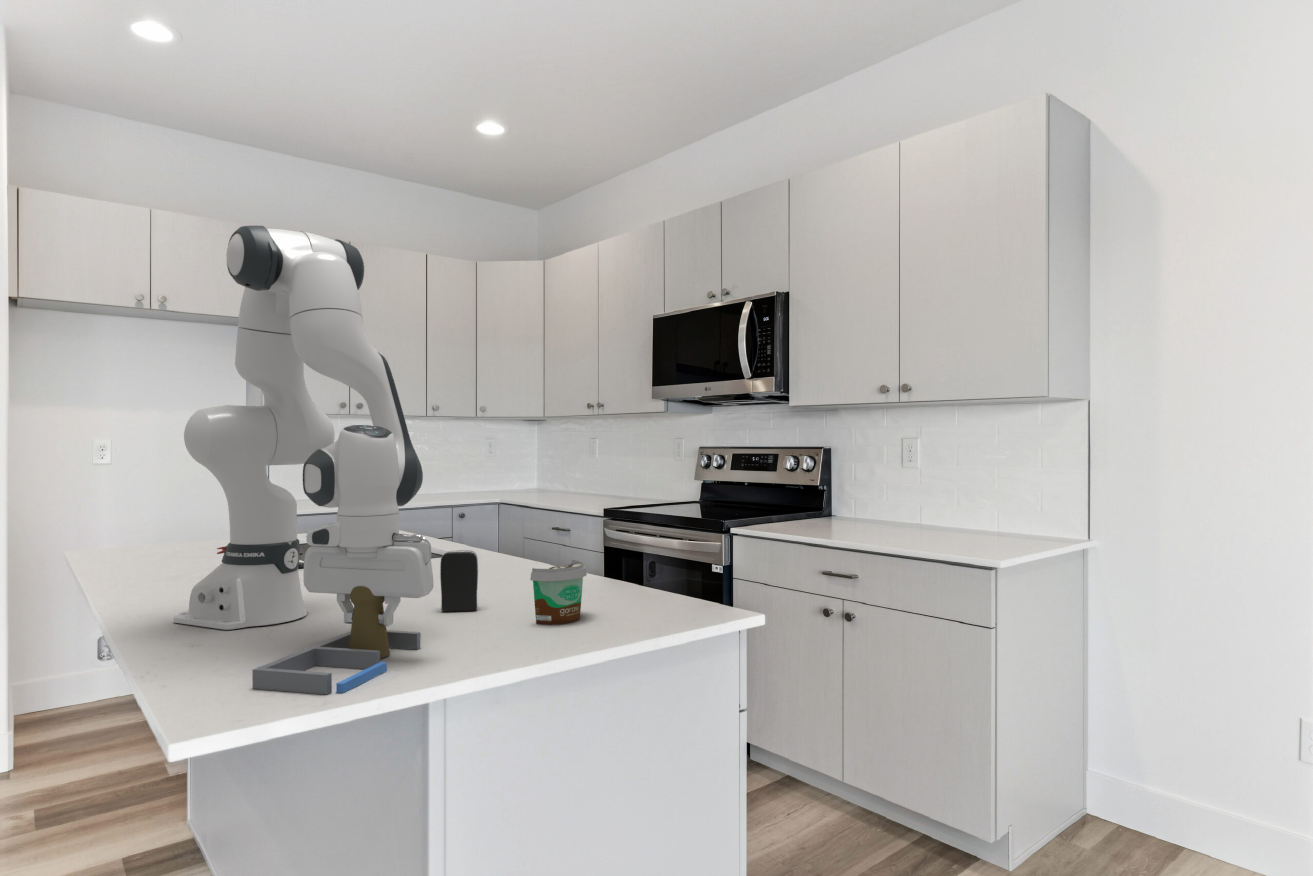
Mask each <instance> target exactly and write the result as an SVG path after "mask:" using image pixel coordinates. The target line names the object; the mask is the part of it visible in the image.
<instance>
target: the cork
mask: <svg viewBox="0 0 1313 876" xmlns="http://www.w3.org/2000/svg"><path fill="white" fill-rule="evenodd" d="M350 600H351V603H352V605H353V607H354V611H353V619H352V624H351V629H350V631H351V634H350V642H349V649H362V650H378V651H380V659H384V658H386V657H388V656H389V655H390V654H391V652H390V648H389V643H388V636H387V626H380V625H379V624H378V622H379V619H378V615H379V614H381V613H384V612H385V609H384V603H385V596H374V595H373V594H372V592H371V590H370V589H369V588H367V587H364V586H357V587H354V588H353V589H352V591H351V593H350Z"/></svg>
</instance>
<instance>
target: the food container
mask: <svg viewBox="0 0 1313 876" xmlns="http://www.w3.org/2000/svg"><path fill="white" fill-rule="evenodd" d="M587 575H588V573H587V569H586V566H585V563H584V561H581V560H577V559H571V563H570V564H568V565H564V566H559V565H557V566H556V565H555V566H551V567H549V568H534V567H532V568H531V573H530V579H529V580H530V581H532V589H533V600H534V612H535V624H536V625H540V626H541V625H544V626H546V625H547V626H560V625H568V624H574V623H575V622H578V621H580V619H581V612H582V611H581V609H582V598H583V597H582V596H583V584H584V583H583V581H584V577H586V576H587Z"/></svg>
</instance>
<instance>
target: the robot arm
mask: <svg viewBox="0 0 1313 876" xmlns="http://www.w3.org/2000/svg"><path fill="white" fill-rule="evenodd" d="M360 252H361V251H359V249H358V248H357V247H356V246H354V245H353V244H350V243H349V242H346V241H343V240H341V239H338V238H337V239H332V238H329V237H326V236H323V235H320V234H315V233H312V232H307V231H302V230H301V231H296V230H290V229H282V228H272V227H271V228H269V227H268V228H267V227H265V226H264V225H242V226H240V227H238V228H237V229H236V230H235V231H234V232H233V233H232V234H231V235H230V237H229V240H228V244H227V248H226V266H227V271H228V274H229V275H230V276H231V278H232V279H233V280H234V282H235V283H237V285H241V286H242V287H244V289H243V293H242V298H241V302H240V306H239V314H238V321H237V331H236V332H237V335H236V342H235V343H236V344H235V345H236V348H235V358H234V359H235V360H234V366H235V369H236V371H237V374H239V376H240V377H241V378H242V379H243V380H245V381H246V382H247V383H249V384H251V385H253V386H255V387H256V388H258V389H260V390H261V391H262V395H263V398H264V400H263V401H264V402H263V405H236V404H235V405H234V404H233V405H231V404H229V405H227V404H225V405H220V406H219V405H218V406H212V407H206V408H201V409H197V410H196V411H195V412H194V413H193V414H192V415H191V416H190V417H189V419H188V420H187V423H186V425H185V427H184V432H183V441H184V446H185V447H186V450H187V452H188V454H189V455H190V456H191V458H192V459H194V460H195V461H196V462H197V463H198V464H200V465H201V466H203V467H204V468H205V469H207V470H208V471H209V472H210V473H211V474H212V475H213V476H214V477H215V478H216V480H217V481H218V483H219V484H220V486H221V488H222V490H223V493H224V495H225V497H226V502H227V507H228V508H227V510H228V518H229V519H228V520H229V521H228V522H229V541H230V542H228V543H227V545H226V546H220V547H217V548H216V550H220V551H217V552H216V554H217V555H223V556H222V559H221V563H220V564H219V565H218V566H217V567H215V568H214V570H212V571H211V572H210V573H209V574H207V575H206V576H205V577H204V578H203V579H200V581H198V582H197V583H196V584H195V585H194V586H193V588H192V589H191V592H190V595H189V601H188V610H186V611H184V612H180V613H178V614H177V615H175V616H174V617H173V623H176V624H182V625H188V626H189V625H190V626H197V627H202V628H203V627H204V628H211V629H219V630H227V631H228V630H235V629H236V630H237V629H242V628H249V627H250V628H251V627H259V626H270V625H277V624H281V623H287V622H291V621H295V620H298V619H300V618H303V617H305V616H306V615H308V610H307V609H306V606H305V601H304V597H303V593H302V592H303V591H302V588H301V581H300V575H299V565H300V559H301V555H300V554H301V550H300V549H301V548H300V547H301V546H300V539H298V514H297V513H298V508H297V506H298V503H297V501H296V499H295V496H293V494H292V493H291V492H290V491H288V489H286V488H283V487H282V486H280V485H277V484H275V483H273V482H272V481H271V480H270V479H269V476H268V475H267V469H266V466H291V465H292V466H294V465H303V467H302V487H303V488H302V489H303V492H304V494H305V496H306V497H307V498H308V499H309V500H310V501H311V502H312V503H314V505H317V506H318V507H322V508H323V507H324V508H330V509H331V508H332V509H334V508H337V512H336V522H333V523H329V524H327V525H324V526H322V527H318V528H316V529H312V530H309V531H308V532H307V533H306V536H305V537H306V538H305V539H306V543H307V545H308V546H309V547H308V549H306V551H305V554H304V560H303V574H302V575H303V586H304V588H305V589H306V590H307V592H309V593H314V594H315V593H318V594H331V595H332V594H333V595H335V594H336V602H337V604H338V605H339V608H340V609H341V611H342V613H343V623H344V624H348V625H352V619H353V611H354V604H353V603H352V602H351V599H350V593H351V591H352V589H353V588H354V587H357V586H364V587H367V588H369V589H370V590H371V592H372V594H373V595H374V596H385V601H384V604H387V606H386V608H385V609H384V613H381V614H379V615H378V619H379V622H378V624H379V625H380V626H386V627H389V626H392V625H393V624H394V614H395V612H396V610H397V608H398V606H399V605H400V603H401V598H407V599H421V598H423V597H427V596H429V595H430V594H431V592H432V591H433V589H434V586H435V585H434V573H433V572H434V571H433V565H432V544H431V543H430V542H429V540H428V539H427V538H425V537H424V536H423V535H422V534H418V533H416V534H407V533H400V513H399V512H400V510H399V509H400V507H404V506H405V505H407V504H408V503H409V502H410V501H411V500H413V498H414V497H415V496H416V495H417V494H418V492H419V491H420V489H421V488H422V485H423V479H424V478H423V477H424V473H423V467H422V464H421V461H420V459H419V457H418V455H417V452H416V450H415V447H414V445H413V443H412V440H411V437H410V433H409V430H408V427H407V426H408V425H407V423H406V419H405V415H404V412H403V408H402V404H401V401H400V400H401V399H400V397H399V393H398V391H397V387H396V383H395V379H394V377H393V373H392V370H391V368H390V364H389V362H388V360H387V358H385V356H384V355H382V354H381V353H380V352H379V351H377V349H376V347H374V346H373V344H372V342H371V340H370V339H369V336H368V334H367V332H366V329H365V325H364V320H363V312H362V311H363V310H362V304H361V299H360V294H359V290H360V289H361V286H362V285H363V281H364V277H365V263H364V260H363V257H362V255H361V253H360ZM304 364H305V365H306V366H308V368H310V369H312V370H313V371H314V372H316V373H318V374H320V375H322V376H324V377H327V378H330V379H333V380H335V381H338V382H340V383H342V384H344V385H346V386H347V387H350V388H351V389H353V390H354V391H356V392H357V393H358V394H359V395H360V396H361V397H362V398H363V400H364V401H365V402H366V405H367V408H368V411H369V414H370V420H371V423H372V425H369V424H353V425H348V426H346V427H343V428H342V429H341V430H340V432H339V434H338V438H337V440H335V437H336V436H335V428H334V425H333V423H332V421H331V419H330V417H329V416H328V415H327V414H326V413H325V412H323V410H321V409H320V408H319V407H318V406H317V404H316V403H315V402H314V401H313V399H312V398H311V395H310V393H309V391H308V388H307V384H306V381H305V371H304V370H305V369H304V367H305V365H304Z"/></svg>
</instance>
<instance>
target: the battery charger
mask: <svg viewBox="0 0 1313 876" xmlns="http://www.w3.org/2000/svg"><path fill="white" fill-rule="evenodd" d="M439 566H440V567H439V568H440V571H439V578H440V593H441V594H440V595H441V597H440V598H441V599H440V601H441V603H440V604H441V605H440V607H441V608H440V610H441V612H446V613H447V612H448V613H452V612H453V613H454V612H457V613H459V612H460V613H461V612H471V611H472V612H474V611H477V610H478V608H479V607H478V588H479V586H478V585H479V584H478V583H479V558H478V555H477V553H476V551H473V550H466V549H464V550H462V549H461V550H449V551H446V552H445V553H443V554H442V556H441V558H440V565H439Z"/></svg>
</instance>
